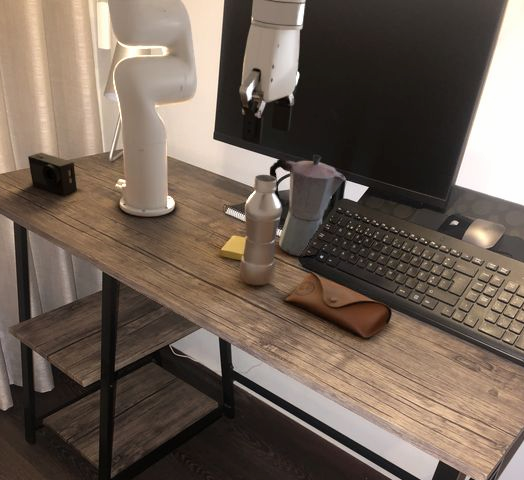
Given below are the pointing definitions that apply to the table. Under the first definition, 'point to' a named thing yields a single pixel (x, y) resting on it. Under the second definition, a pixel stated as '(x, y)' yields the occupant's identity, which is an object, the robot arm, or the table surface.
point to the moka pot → (305, 200)
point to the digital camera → (52, 173)
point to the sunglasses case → (341, 305)
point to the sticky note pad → (234, 248)
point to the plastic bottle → (261, 232)
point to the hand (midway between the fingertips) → (266, 135)
